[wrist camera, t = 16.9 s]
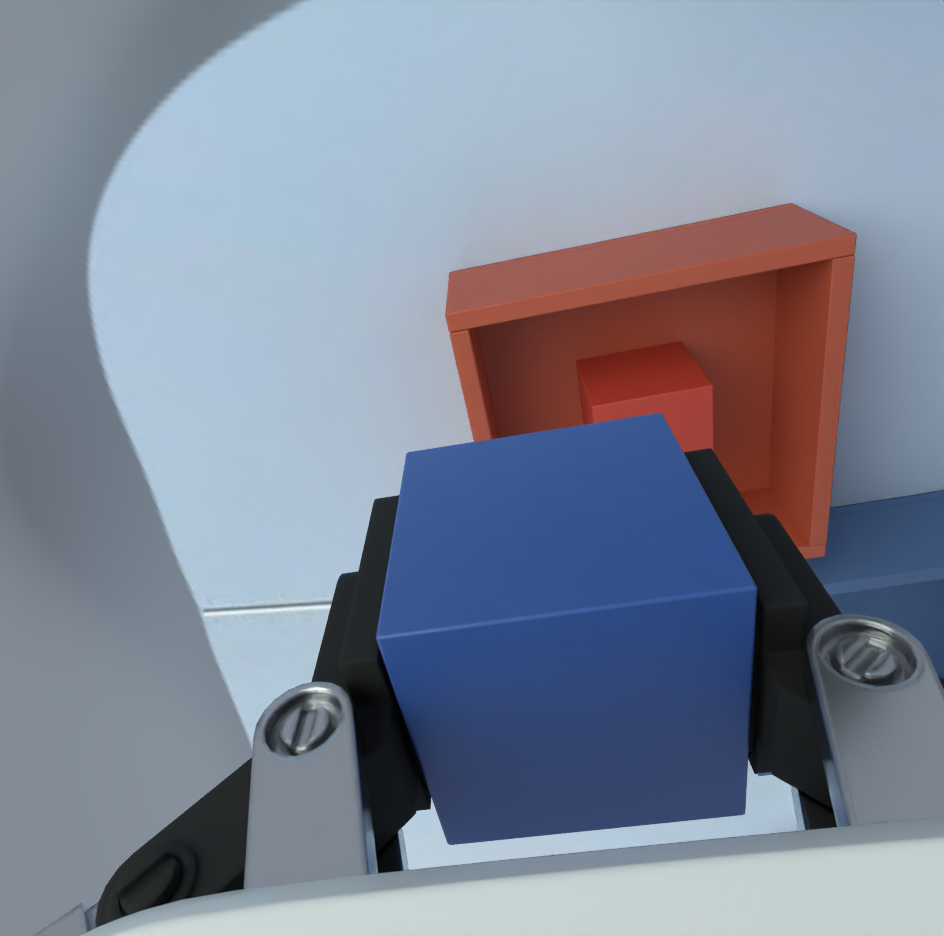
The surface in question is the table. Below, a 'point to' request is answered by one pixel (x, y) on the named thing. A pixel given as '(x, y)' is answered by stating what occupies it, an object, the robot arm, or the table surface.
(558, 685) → the blue block
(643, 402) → the red block
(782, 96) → the table surface
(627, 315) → the red bin
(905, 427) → the table surface
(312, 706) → the robot arm
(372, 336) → the table surface
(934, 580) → the blue bin
